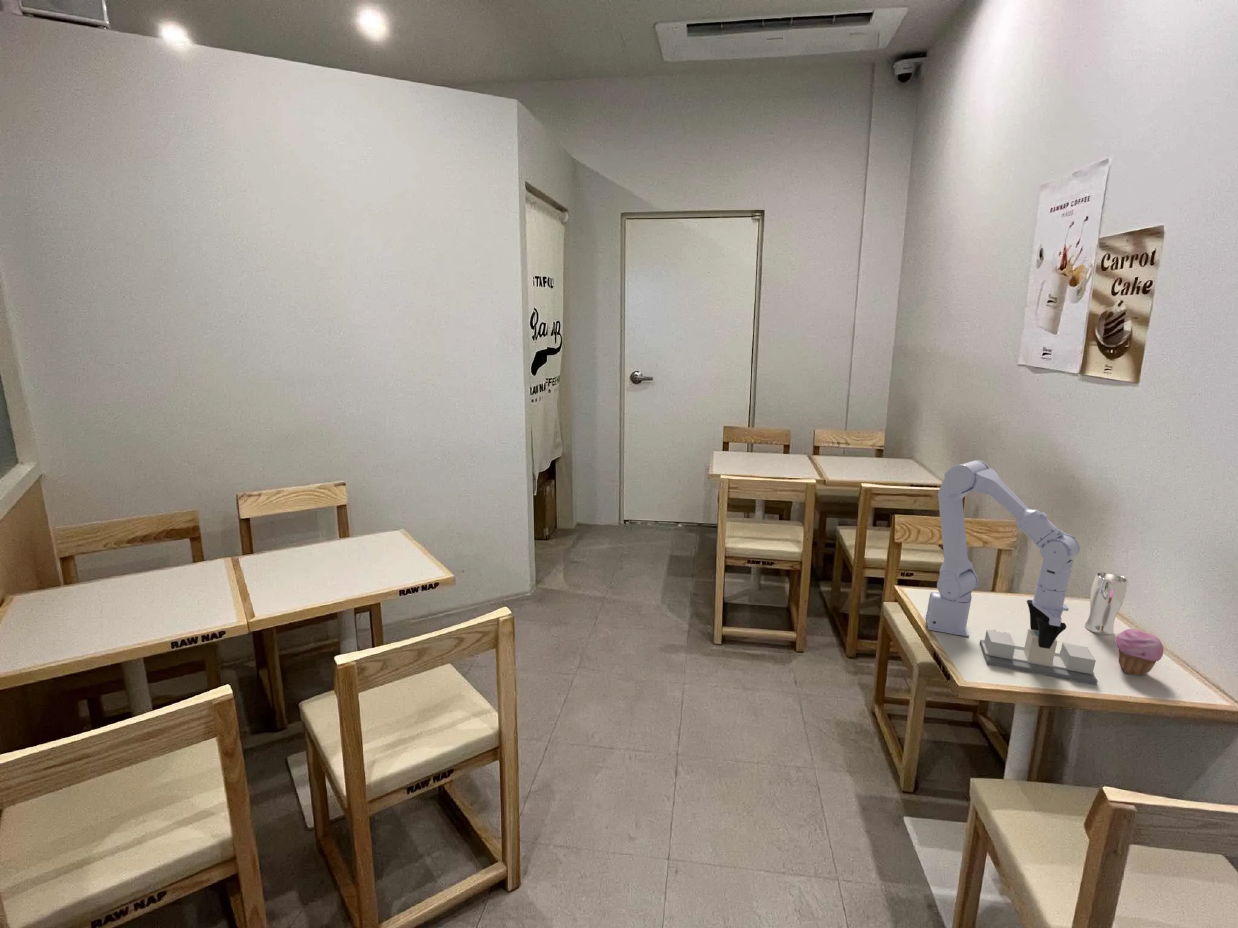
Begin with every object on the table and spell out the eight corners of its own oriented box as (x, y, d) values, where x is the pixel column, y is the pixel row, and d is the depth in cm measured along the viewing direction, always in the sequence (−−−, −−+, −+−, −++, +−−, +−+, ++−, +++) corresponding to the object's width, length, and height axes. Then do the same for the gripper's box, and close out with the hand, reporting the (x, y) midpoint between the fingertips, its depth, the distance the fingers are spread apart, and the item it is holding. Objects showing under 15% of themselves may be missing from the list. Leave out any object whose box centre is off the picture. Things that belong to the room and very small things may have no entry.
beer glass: (1086, 632, 168) (1099, 579, 164) (1079, 620, 174) (1091, 569, 170) (1119, 638, 165) (1132, 585, 161) (1110, 626, 172) (1123, 574, 168)
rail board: (986, 663, 152) (990, 645, 151) (979, 643, 161) (982, 625, 160) (1096, 684, 145) (1101, 665, 144) (1082, 661, 154) (1087, 643, 153)
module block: (1027, 659, 152) (1032, 636, 150) (1023, 651, 156) (1028, 628, 154) (1052, 664, 150) (1057, 640, 149) (1047, 655, 154) (1052, 632, 152)
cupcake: (1104, 656, 157) (1114, 619, 154) (1148, 665, 154) (1158, 627, 151) (1116, 676, 149) (1126, 637, 146) (1162, 685, 146) (1174, 645, 143)
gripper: (1082, 603, 140) (1068, 658, 144) (1063, 576, 154) (1051, 627, 157) (1044, 597, 143) (1032, 651, 146) (1029, 571, 156) (1018, 622, 159)
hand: (1039, 639), depth 152 cm, fingers open, 7 cm apart
